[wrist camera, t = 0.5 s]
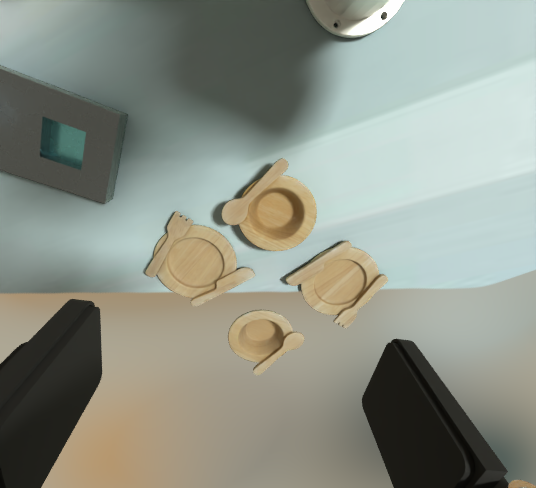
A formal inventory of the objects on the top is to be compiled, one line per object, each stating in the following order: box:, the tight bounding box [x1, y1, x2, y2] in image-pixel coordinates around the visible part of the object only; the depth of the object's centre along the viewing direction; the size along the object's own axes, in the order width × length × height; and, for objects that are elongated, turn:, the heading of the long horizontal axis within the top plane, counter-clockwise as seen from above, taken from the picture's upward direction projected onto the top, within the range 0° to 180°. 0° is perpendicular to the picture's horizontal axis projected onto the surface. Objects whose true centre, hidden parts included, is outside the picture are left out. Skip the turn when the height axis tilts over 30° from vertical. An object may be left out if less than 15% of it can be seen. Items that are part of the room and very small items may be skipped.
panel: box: [0, 65, 128, 204], centre depth 36 cm, size 12×24×2 cm, turn 69°
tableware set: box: [145, 158, 388, 375], centre depth 47 cm, size 35×29×4 cm
